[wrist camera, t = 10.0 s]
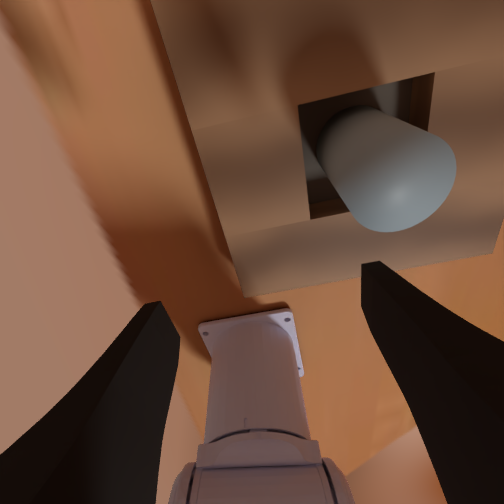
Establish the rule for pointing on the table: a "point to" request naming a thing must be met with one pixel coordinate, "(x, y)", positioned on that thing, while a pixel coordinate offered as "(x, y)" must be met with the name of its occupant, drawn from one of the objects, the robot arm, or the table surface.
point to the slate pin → (385, 168)
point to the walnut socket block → (319, 113)
